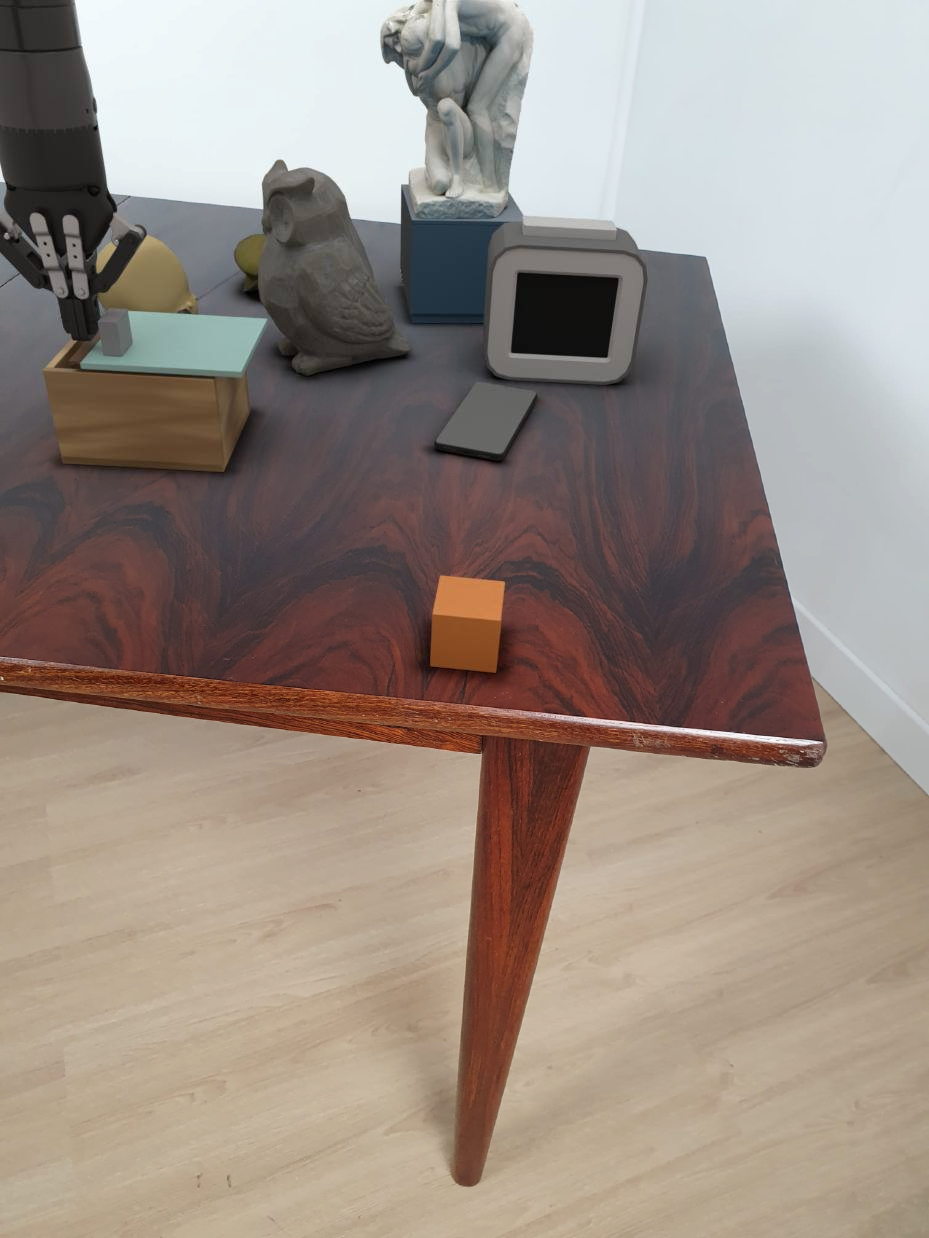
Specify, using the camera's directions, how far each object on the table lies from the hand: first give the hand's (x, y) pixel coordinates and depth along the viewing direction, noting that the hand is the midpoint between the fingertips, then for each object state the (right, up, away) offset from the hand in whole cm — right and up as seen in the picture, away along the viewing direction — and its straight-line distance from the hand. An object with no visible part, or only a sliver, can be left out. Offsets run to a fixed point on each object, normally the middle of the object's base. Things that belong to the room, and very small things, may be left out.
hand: (85, 337), depth 84 cm
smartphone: (+35, -5, +14) cm, 38 cm away
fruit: (+7, +19, +43) cm, 48 cm away
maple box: (+4, -7, +9) cm, 12 cm away
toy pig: (-4, +9, +30) cm, 32 cm away
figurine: (+18, +5, +27) cm, 33 cm away
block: (+33, -26, -14) cm, 44 cm away
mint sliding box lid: (+7, 0, +3) cm, 7 cm away
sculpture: (+30, +17, +42) cm, 55 cm away
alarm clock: (+43, +5, +28) cm, 51 cm away
